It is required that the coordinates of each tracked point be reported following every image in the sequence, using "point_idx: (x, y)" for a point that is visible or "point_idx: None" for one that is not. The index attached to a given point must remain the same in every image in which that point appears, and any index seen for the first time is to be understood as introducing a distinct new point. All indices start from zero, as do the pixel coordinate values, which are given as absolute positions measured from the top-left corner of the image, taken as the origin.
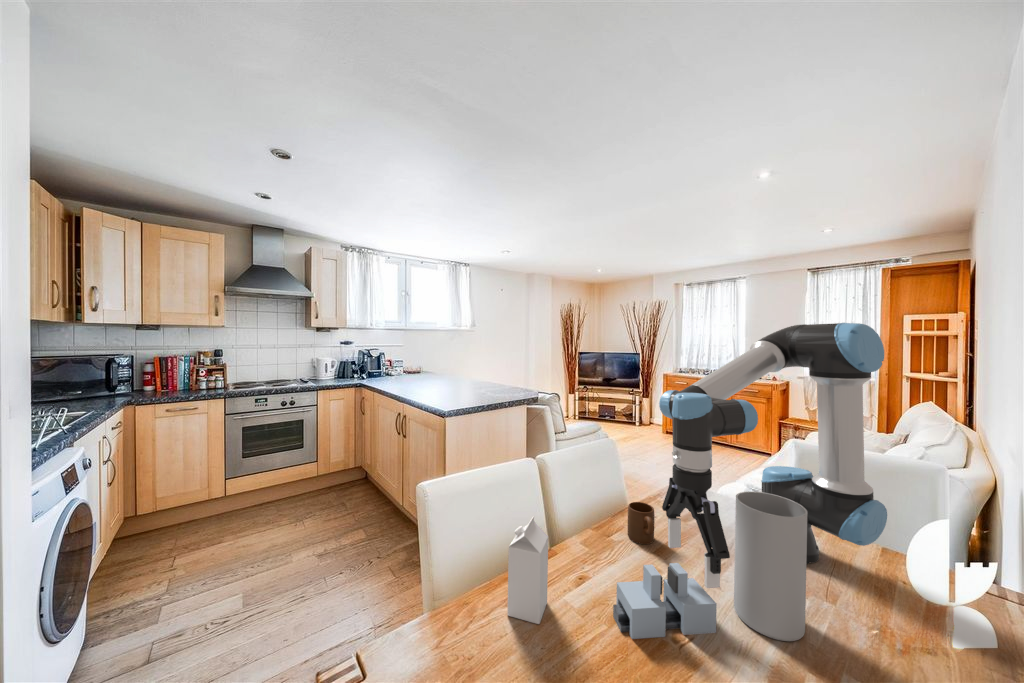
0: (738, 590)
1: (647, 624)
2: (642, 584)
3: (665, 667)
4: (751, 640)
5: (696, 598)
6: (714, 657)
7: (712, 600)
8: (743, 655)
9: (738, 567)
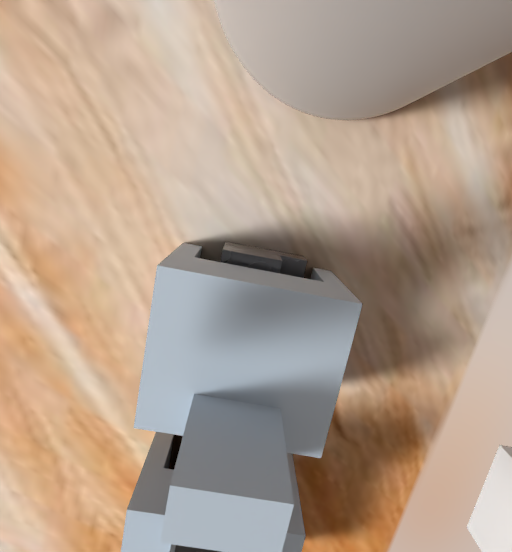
0: (324, 85)
1: None
2: (148, 543)
3: (381, 512)
4: (403, 168)
5: (301, 372)
6: (407, 358)
7: (338, 305)
8: (438, 259)
9: (360, 29)
